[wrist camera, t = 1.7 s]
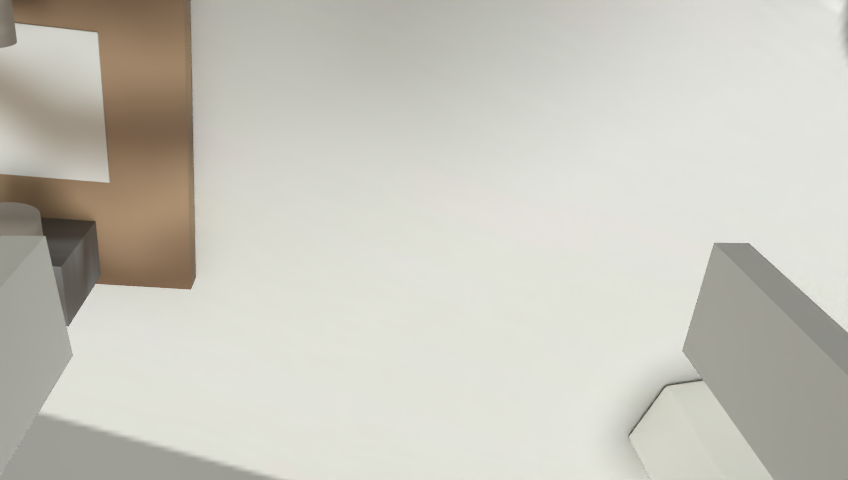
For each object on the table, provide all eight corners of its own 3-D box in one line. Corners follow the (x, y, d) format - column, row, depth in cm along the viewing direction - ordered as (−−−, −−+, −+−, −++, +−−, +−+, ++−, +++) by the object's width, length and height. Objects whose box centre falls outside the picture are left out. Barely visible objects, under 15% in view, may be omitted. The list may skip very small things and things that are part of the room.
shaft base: (-176, -173, 25) (-338, -193, 19) (187, -118, 27) (143, -121, 21) (-75, 269, 33) (-166, 350, 27) (195, 285, 35) (165, 364, 29)
